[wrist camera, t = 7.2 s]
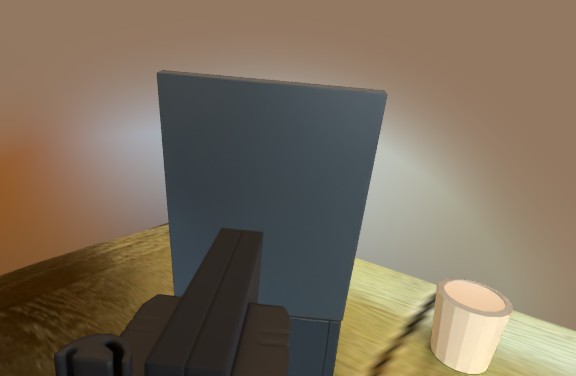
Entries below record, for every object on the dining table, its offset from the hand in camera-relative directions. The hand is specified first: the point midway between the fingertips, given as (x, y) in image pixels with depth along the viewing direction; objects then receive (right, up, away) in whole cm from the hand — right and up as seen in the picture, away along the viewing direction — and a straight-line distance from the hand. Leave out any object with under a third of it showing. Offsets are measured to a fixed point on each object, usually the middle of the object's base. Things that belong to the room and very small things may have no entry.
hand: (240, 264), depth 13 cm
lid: (0, +1, +9) cm, 9 cm away
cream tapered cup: (+19, -15, +25) cm, 35 cm away
